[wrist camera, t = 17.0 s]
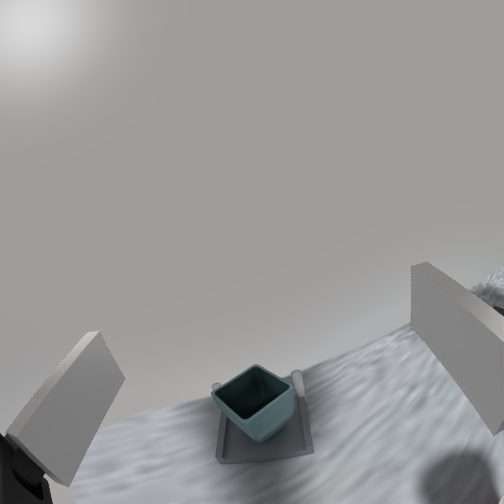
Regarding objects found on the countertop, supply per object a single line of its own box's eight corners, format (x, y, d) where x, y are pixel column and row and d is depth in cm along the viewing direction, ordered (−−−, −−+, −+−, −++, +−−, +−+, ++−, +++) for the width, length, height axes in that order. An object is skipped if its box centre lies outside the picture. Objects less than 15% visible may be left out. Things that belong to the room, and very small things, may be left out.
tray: (306, 398, 44) (300, 368, 42) (316, 452, 32) (310, 425, 30) (225, 411, 45) (212, 383, 43) (218, 464, 33) (201, 439, 31)
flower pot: (226, 427, 39) (208, 392, 37) (267, 399, 44) (255, 362, 42) (259, 457, 32) (243, 423, 30) (303, 423, 37) (295, 385, 34)
